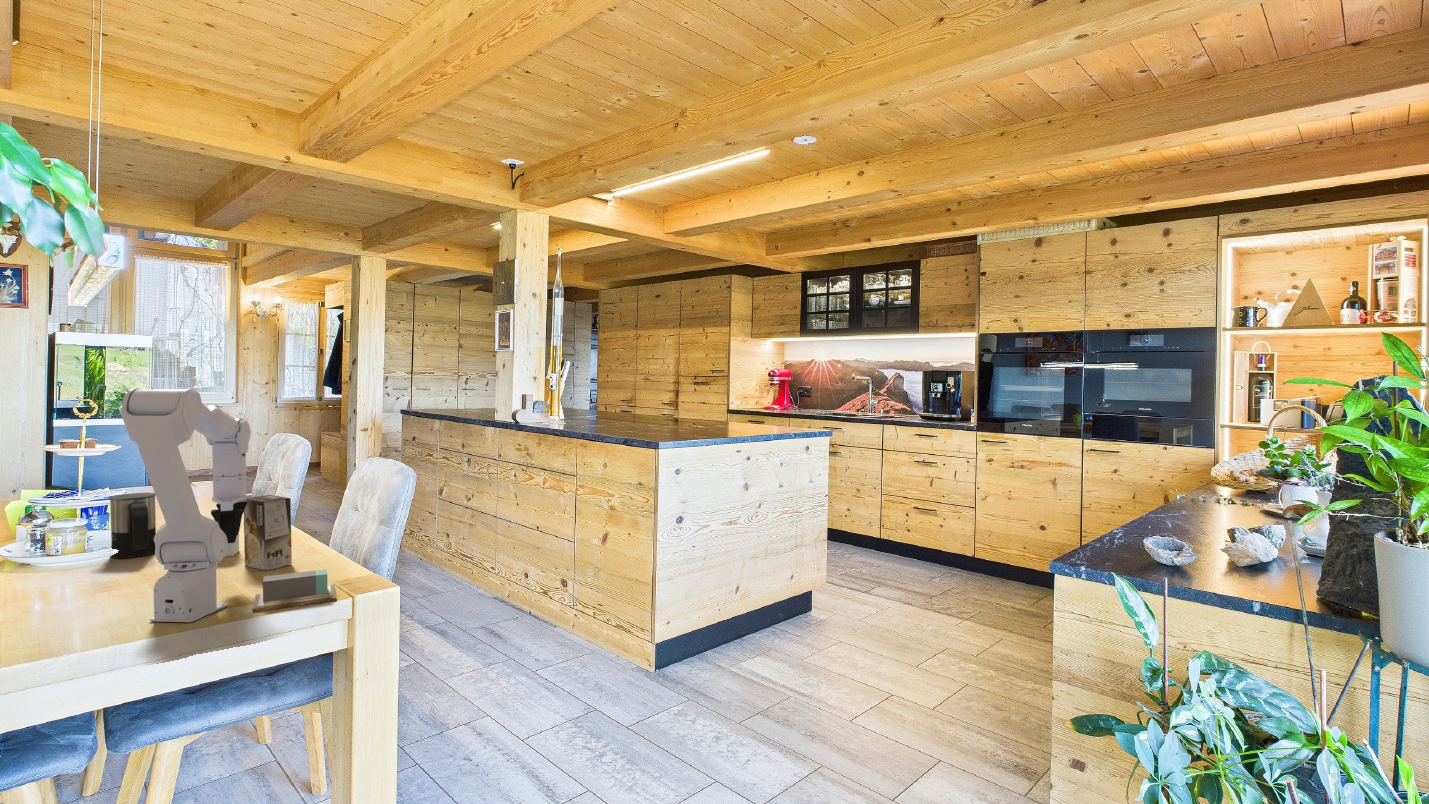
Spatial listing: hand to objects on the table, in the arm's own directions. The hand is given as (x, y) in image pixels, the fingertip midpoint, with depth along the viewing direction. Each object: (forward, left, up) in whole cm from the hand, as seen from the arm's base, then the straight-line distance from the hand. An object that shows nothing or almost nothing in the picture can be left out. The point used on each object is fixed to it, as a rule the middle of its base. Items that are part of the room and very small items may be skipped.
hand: (230, 539), depth 146 cm
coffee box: (+17, +4, -11) cm, 20 cm away
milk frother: (+26, +40, -11) cm, 49 cm away
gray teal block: (-6, -18, -10) cm, 21 cm away
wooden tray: (-6, -18, -10) cm, 22 cm away
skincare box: (+26, +21, -11) cm, 35 cm away
